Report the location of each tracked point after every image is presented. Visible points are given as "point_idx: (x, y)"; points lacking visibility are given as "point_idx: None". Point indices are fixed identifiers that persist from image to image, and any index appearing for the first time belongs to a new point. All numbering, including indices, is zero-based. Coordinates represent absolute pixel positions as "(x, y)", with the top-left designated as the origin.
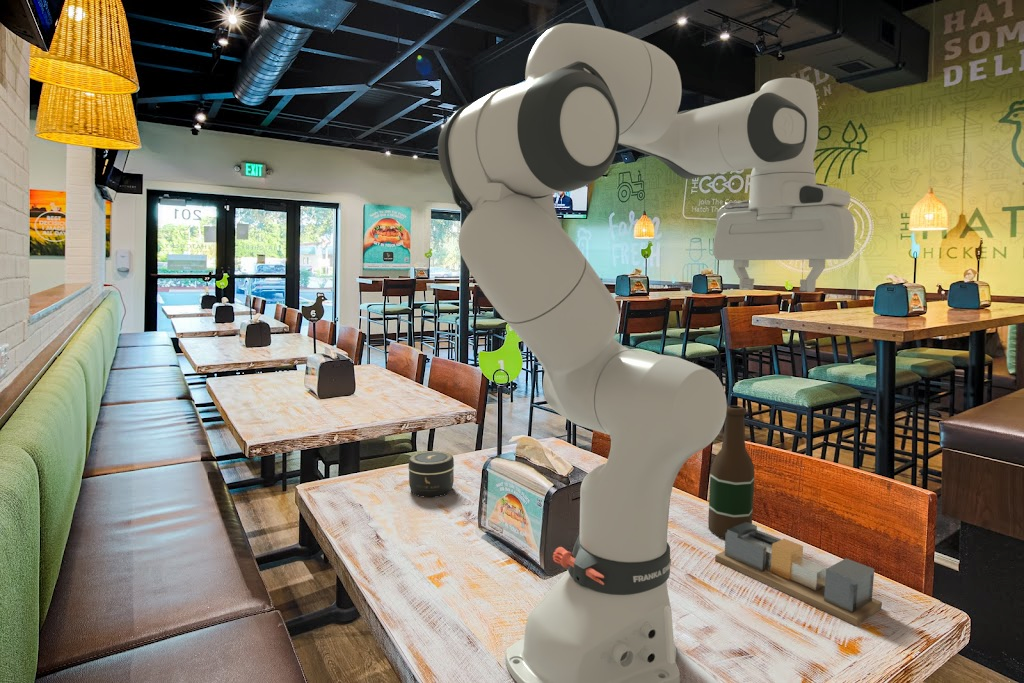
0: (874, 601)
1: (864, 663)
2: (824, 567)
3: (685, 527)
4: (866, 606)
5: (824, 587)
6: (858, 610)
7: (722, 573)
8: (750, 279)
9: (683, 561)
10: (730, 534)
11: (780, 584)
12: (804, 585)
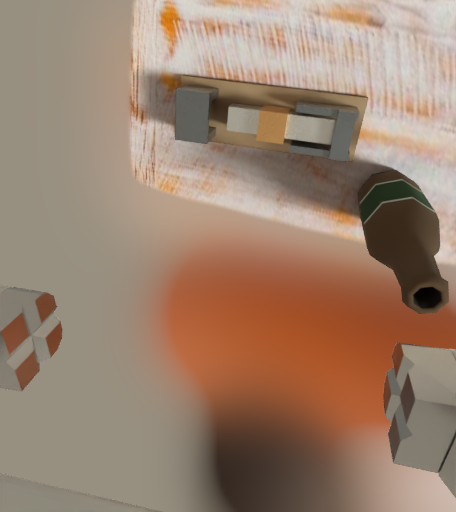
0: None
1: (148, 3)
2: (228, 128)
3: (448, 165)
4: None
5: None
6: None
7: (343, 69)
8: (405, 418)
9: (404, 56)
10: (351, 111)
11: (269, 86)
12: None
